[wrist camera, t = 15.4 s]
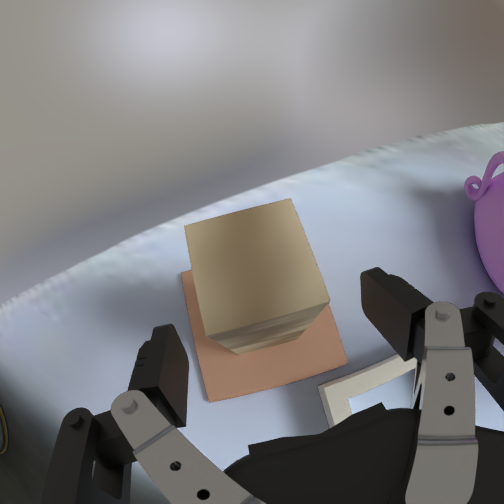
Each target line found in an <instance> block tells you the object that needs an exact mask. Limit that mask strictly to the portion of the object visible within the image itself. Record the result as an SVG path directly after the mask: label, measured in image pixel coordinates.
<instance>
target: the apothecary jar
mask: <svg viewBox="0 0 504 504" xmlns="http://www.w3.org/2000/svg"><path fill="white" fill-rule="evenodd" d="M7 447H8V430H7V425H6V421H5V417H4V414H3V411H2V408H1V406H0V454H2V453H4V452H5V451H6V449H7Z"/></svg>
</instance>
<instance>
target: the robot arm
mask: <svg viewBox="0 0 504 504" xmlns="http://www.w3.org/2000/svg"><path fill="white" fill-rule="evenodd" d="M360 280H361V303H362V309H363V312H364V314H365V315H366V317H367V318H368V319H369V320H370V322H371V323H372V324H373V325H374V326H375V327H376V328H377V330H378V331H379V332H380V333H381V334H382V335H383V337H384V338H385V339H386V340H387V341H388V343H389V344H390V345H391V346H392V347H393V348H394V350H395V351H396V352H397V353H398V354H399V356H400V357H401V358H402V359H403V361H404V362H406V361H408V360H410V359H412V358H414V357H415V358H416V360H417V364H416V370H415V379H414V387H413V394H412V401H411V406H410V409H409V408H396V409H389V410H386V409H385V407H384V405H383V404H382V402H381V403H379V404H376V405H374V406H372V407H369V408H367V409H365V410H362V411H360V412H357V413H355V414H352V415H350V416H349V417H347V418H346V419H344V420H343V421H341V422H340V423H338V424H336V425H335V426H333V427H332V428H330V429H328V430H327V431H325V432H323V433H321V434H317V435H307V436H295V437H282V438H278V439H274V440H270V441H265V442H261V443H256V444H251V445H248V448H249V455H247V456H244V457H242V458H241V459H239V460H237V461H236V462H234V463H233V464H231V465H230V466H229V467H227V468H226V469H225V470H224V471H223V472H222V471H221V470H220V469H219V468H218V467H217V466H215V465H214V464H213V463H212V462H211V461H210V460H209V459H208V458H206V457H205V456H204V455H203V454H202V453H201V452H200V451H199V450H198V449H197V448H196V447H195V446H194V445H193V444H192V443H191V442H190V441H189V440H188V439H187V438H186V437H185V436H184V435H183V434H182V433H181V432H180V431H179V430H178V429H177V428H179V427H186V416H187V393H188V374H189V361H188V356H187V353H186V351H185V349H184V347H183V345H182V342H181V340H180V338H179V336H178V334H177V332H176V329H175V327H174V326H173V325H172V324H168V325H163V326H159V327H155V328H154V329H153V333H152V337H151V340H149V341H146V342H145V343H144V344H143V345H142V347H141V348H140V349H139V352H138V355H137V360H136V362H135V365H134V366H135V367H134V369H133V372H132V376H131V380H130V383H129V387H128V391H126V392H124V393H122V394H120V395H119V396H118V397H117V398H116V399H115V400H114V401H113V403H112V405H111V410H109V411H107V412H104V413H101V414H98V415H95V416H93V415H92V413H91V412H90V411H89V410H88V409H86V408H76V409H74V410H72V411H70V412H69V413H68V414H67V415H66V416H65V417H64V419H63V421H62V424H61V427H60V430H59V434H58V437H57V440H56V444H55V447H54V451H53V454H52V458H51V462H50V466H49V470H48V474H47V478H46V483H45V487H44V492H43V497H42V503H41V504H130V484H131V467H132V462H135V461H138V462H139V463H140V465H141V466H142V467H143V469H144V470H145V471H146V473H147V474H148V475H149V477H150V478H151V479H152V481H153V482H154V483H155V484H156V486H157V487H158V488H159V489H160V491H161V492H162V493H163V494H164V496H165V497H166V498H167V499H168V500H169V501H170V503H171V504H504V432H503V431H498V430H493V429H488V428H484V427H480V426H475V384H474V375H475V376H476V377H477V379H478V380H479V381H480V382H481V383H482V385H483V386H484V387H485V388H486V389H487V391H488V392H489V393H490V394H491V396H492V397H493V398H494V399H495V401H496V402H497V403H498V404H499V406H500V407H501V408H502V410H503V411H504V356H503V355H502V354H501V353H500V352H499V351H498V350H497V349H496V348H495V347H494V346H493V343H494V340H495V337H496V338H497V339H498V340H499V341H500V342H501V343H502V344H503V345H504V299H503V298H502V297H501V296H499V295H497V294H495V293H492V292H482V293H479V294H478V295H477V296H476V297H475V300H474V305H473V307H468V308H464V309H460V310H459V309H458V308H457V307H456V306H455V305H453V304H451V303H448V302H435V303H433V302H432V301H431V300H430V299H428V298H427V297H426V296H424V295H423V294H422V293H421V292H419V291H418V290H417V289H414V287H413V286H412V285H410V284H408V282H406V281H405V280H404V279H402V278H401V277H398V276H395V275H392V274H390V275H388V274H387V273H386V272H384V271H383V270H382V269H380V268H379V267H375V268H372V269H369V270H366V271H363V272H362V273H361V276H360ZM94 460H95V461H96V463H95V469H94V476H93V480H92V468H93V462H94Z"/></svg>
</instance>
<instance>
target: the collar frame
mask: <svg viewBox="0 0 504 504" xmlns="http://www.w3.org/2000/svg"><path fill="white" fill-rule="evenodd" d="M416 364H417V360H416V358H415V357H414V358H412V359H410V360H408V361H406V362H404V361H403V359H402V358H401V357H400V356H399V354H396V355H394V356H392V357H390V358H387V359H385V360H383V361H381V362H378V363H376V364H374V365H371V366H369V367H367V368H364V369H362V370H359V371H357V372H354V373H352V374H349V375H347V376H344V377H341V378H338V379H336V380H333V381H330V382H327V383H325V384H322V385H319V386H317V387H318V390H319V393H320V397H321V400H322V404H323V407H324V411H325V414H326V418H327V421H328V425H329V428H332V427H333V426H335V425H336V424H338V423H340V422H341V421H343V420H344V419H346V418H347V417H349V416H350V415H352V411H351V408H350V404H349V401H348V399H349V398H351V397H354V396H356V395H359V394H361V393H363V392H366V391H368V390H370V389H373V388H375V387H377V386H379V385H382V384H384V383H386V382H388V381H390V380H392V379H395V378H397V377H399V376H401V375H403V374H405V373H407V372H409V371H411V370H412V369H414V368H416Z"/></svg>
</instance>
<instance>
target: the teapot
mask: <svg viewBox="0 0 504 504" xmlns="http://www.w3.org/2000/svg"><path fill="white" fill-rule="evenodd" d="M502 163H504V151H502V152H498V153H496V154H495V155H494V156H493V157H492V158H491V159H490V161H489V163H488V165H487V168H486V170H485V173H484V176H483V179H482V181H481V179H480V178H479V177H477V176H470V177H469V178H467V180H466V181H465V184H464V189H465V192H466V194H467V196H468V197H469V198H470V199H471V200H472V201H476V203H475V210H474V225H475V236H476V242H477V247H478V251H479V254H480V257H481V260H482V262H483V264H484V267H485V269H486V271H487V273H488V275H489V276H490V278H491V280H492V281H493V282H494V284H495V285H496V286H497V288H498V289H499V290H500V291H501V292H502V293H503V294H504V172H503V173H501V174H499V175H497V176H495V177H494V178H492V175H493V173H494V171H495V169H496V168H497V167H498V165H500V164H502ZM491 178H492V179H491ZM472 184H476V185H477V186H478V187H479V189H474V188H473V186H472Z"/></svg>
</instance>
